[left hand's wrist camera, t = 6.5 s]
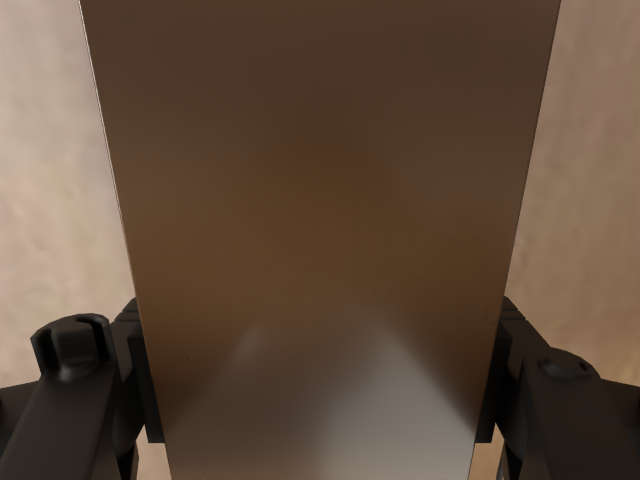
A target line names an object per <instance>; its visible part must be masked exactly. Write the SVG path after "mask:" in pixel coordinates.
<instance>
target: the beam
mask: <svg viewBox="0 0 640 480" xmlns="http://www.w3.org/2000/svg"><path fill="white" fill-rule="evenodd" d="M78 3H79V8H80V13H81V18H82V23H83V28H84V33H85V39H86V44H87V49H88V54H89V59H90V64H91V69H92V74H93V79H94V85H95V90H96V95H97V100H98V105H99V110H100V115H101V120H102V126H103V131H104V136H105V141H106V146H107V151H108V156H109V161H110V166H111V172H112V177H113V182H114V187H115V192H116V197H117V202H118V207H119V212H120V218H121V223H122V228H123V233H124V238H125V243H126V248H127V253H128V259H129V264H130V269H131V274H132V279H133V284H134V289H135V294H136V299H137V305H138V310H139V315H140V320H141V325H142V330H143V335H144V340H145V346H146V351H147V356H148V361H149V366H150V371H151V376H152V381H153V386H154V392H155V397H156V402H157V407H158V412H159V417H160V422H161V427H162V433H163V438H164V443H165V448H166V453H167V458H168V463H169V468H170V473H171V479H172V480H468V478H469V473H470V467H471V462H472V457H473V452H474V447H475V442H476V436H477V431H478V426H479V421H480V416H481V411H482V406H483V400H484V395H485V390H486V385H487V380H488V375H489V369H490V364H491V359H492V354H493V349H494V344H495V339H496V333H497V328H498V323H499V318H500V313H501V308H502V302H503V297H504V292H505V287H506V282H507V277H508V271H509V266H510V261H511V256H512V251H513V246H514V241H515V235H516V230H517V225H518V220H519V215H520V210H521V204H522V199H523V194H524V189H525V184H526V179H527V174H528V168H529V163H530V158H531V153H532V148H533V143H534V137H535V132H536V127H537V122H538V117H539V112H540V107H541V101H542V96H543V91H544V86H545V81H546V76H547V70H548V65H549V60H550V55H551V50H552V45H553V40H554V34H555V29H556V24H557V19H558V14H559V9H560V3H561V0H78Z"/></svg>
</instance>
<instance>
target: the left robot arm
mask: <svg viewBox="0 0 640 480" xmlns="http://www.w3.org/2000/svg"><path fill="white" fill-rule="evenodd" d="M30 339H31V343H32V346H33V349H34V352H35V355H36V359H37V362H38V365H39V368H40V371H41V377H40V379H39V381H35V382H31V383H26V384H21V385H16V386H11V387H6V388H1V389H0V480H136V478H137V470H138V461H139V455H138V449H137V444H136V439H137V437H138V435H139V433H140V431H141V429H142V427H143V425H144V424H145V428H146V433H147V438H148V443H164V438H163V433H162V427H161V422H160V417H159V412H158V407H157V402H156V397H155V392H154V386H153V381H152V376H151V371H150V366H149V361H148V356H147V351H146V346H145V340H144V335H143V330H142V325H141V320H140V315H139V310H138V305H137V299H136V297H135V298H133V299H132V300H131V301H130V302H129V303H128V304H127V305H126V307H125V308H124V309H123V310H122V313H120V314H119V315H118V316H117V317H116V318H115V319H114V322H112V323H111V324H109V319H107V318H106V317H104V316H103V315H99V314H94V313H87V314H76V315H72V316H67V317H63V318H61V319H58V320H56V321H53V322H51V323H49V324H47V325H45V326H44V327H42V328H40V329H39V330H37V331H36V332H35V334H34V335H33V336H32V337H31V338H30ZM495 422H496V424H497V426H498V428H499V430H500V432H501V434H502V436H503V438H504V439H505V440H504V444H503V449H502V453H501V458H500V462H499V467H498V471H497V476H496V480H502V479H503V477H504V480H640V387H638V386H633V385H628V384H623V383H618V382H613V381H608V380H605V379H601V378H600V376H599V374H598V373H597V371H596V370H595V369H594V368H593V366H592V365H591V364H589V363H588V362H586V361H585V360H584V359H582V358H581V357H579V356H576V355H574V354H572V353H570V352H568V351H564V350H561V349H557V348H553V347H550V346H549V344H548V343H547V342H546V341H545V340H544V339H543V338H542V336H541V335H540V334H539V333H538V332H537V331H536V329H535V328H534V327H533V326H532V325H531V324H530V323H529V321H528V320H526V318H525V317H524V316H523V315H522V313H521V312H520V311H518V309H517V308H516V306H515V305H514V304H513V303H512V302H511V301H510V300H509V298H507V297H506V296H504V297H503V302H502V308H501V313H500V318H499V323H498V328H497V333H496V339H495V344H494V349H493V354H492V359H491V364H490V369H489V375H488V380H487V385H486V390H485V395H484V400H483V406H482V411H481V416H480V421H479V426H478V431H477V436H476V442H475V443H491V441H492V437H493V432H494V427H495Z"/></svg>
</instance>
